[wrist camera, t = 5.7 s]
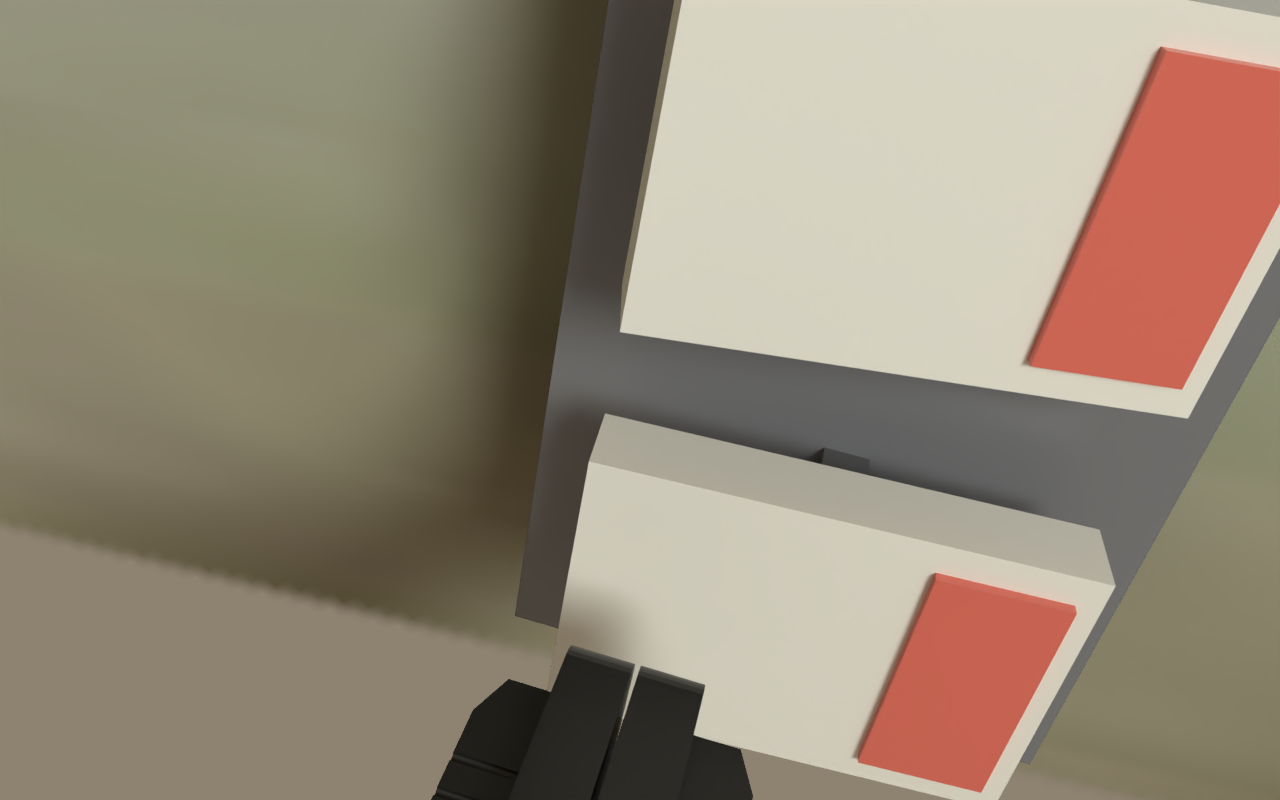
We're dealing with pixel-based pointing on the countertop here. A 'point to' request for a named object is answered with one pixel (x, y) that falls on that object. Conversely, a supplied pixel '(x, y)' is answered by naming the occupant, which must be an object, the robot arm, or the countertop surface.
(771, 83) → the rocker middle
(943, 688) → the rocker
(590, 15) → the countertop surface
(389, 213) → the countertop surface
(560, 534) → the power strip
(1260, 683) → the countertop surface
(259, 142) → the countertop surface
